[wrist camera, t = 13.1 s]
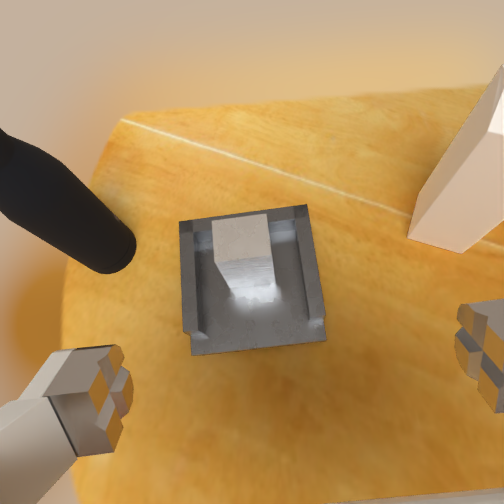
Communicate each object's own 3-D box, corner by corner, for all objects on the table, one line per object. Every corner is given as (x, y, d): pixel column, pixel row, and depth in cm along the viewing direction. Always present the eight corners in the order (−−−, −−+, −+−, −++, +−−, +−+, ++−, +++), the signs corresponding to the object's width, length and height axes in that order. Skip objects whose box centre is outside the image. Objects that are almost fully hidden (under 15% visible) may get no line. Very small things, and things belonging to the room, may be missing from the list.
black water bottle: (76, 267, 45) (-276, 67, 17) (97, 219, 47) (-189, -31, 19) (125, 279, 44) (-167, 85, 16) (144, 230, 46) (-86, -20, 18)
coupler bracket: (325, 341, 39) (329, 336, 36) (193, 356, 40) (183, 352, 37) (305, 219, 44) (306, 204, 41) (188, 235, 45) (179, 221, 41)
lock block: (275, 282, 41) (271, 255, 33) (230, 288, 41) (214, 262, 33) (271, 247, 43) (266, 211, 34) (227, 252, 43) (211, 219, 34)
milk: (461, 254, 41) (632, 122, 21) (405, 238, 42) (513, 97, 22) (471, 206, 43) (639, 40, 22) (417, 192, 44) (528, 21, 24)
